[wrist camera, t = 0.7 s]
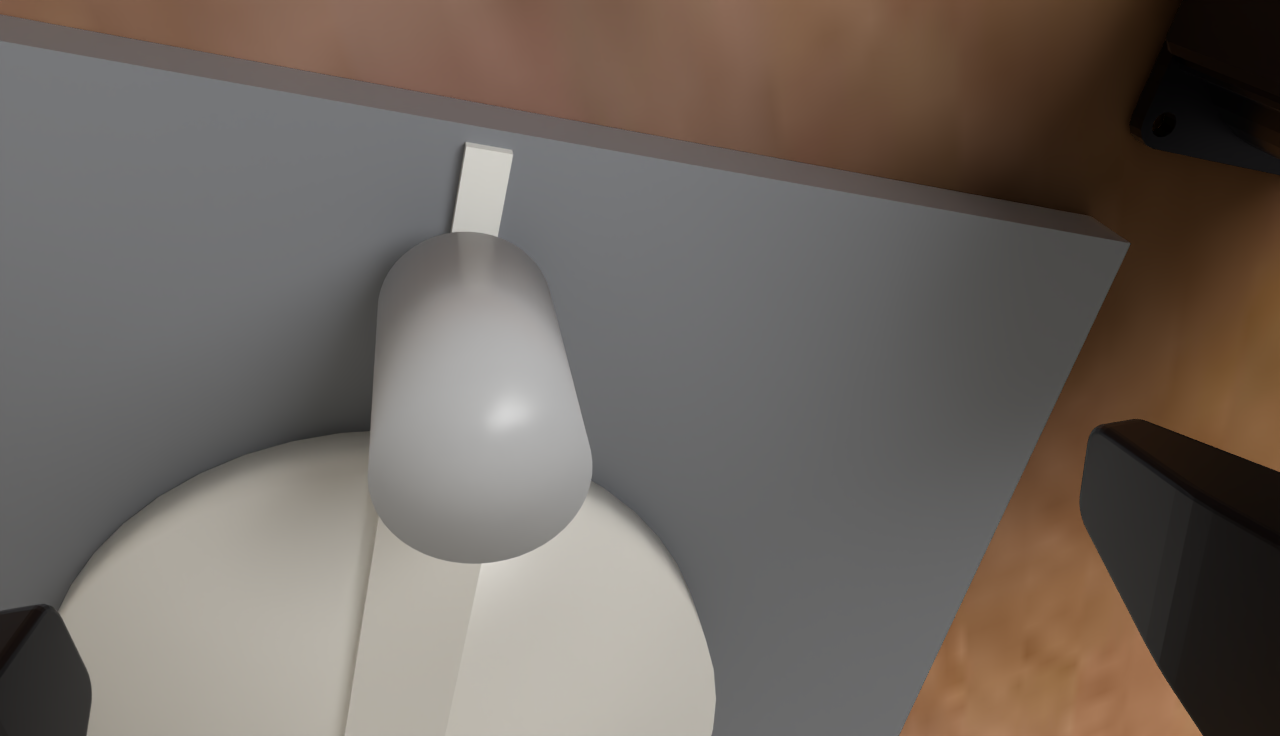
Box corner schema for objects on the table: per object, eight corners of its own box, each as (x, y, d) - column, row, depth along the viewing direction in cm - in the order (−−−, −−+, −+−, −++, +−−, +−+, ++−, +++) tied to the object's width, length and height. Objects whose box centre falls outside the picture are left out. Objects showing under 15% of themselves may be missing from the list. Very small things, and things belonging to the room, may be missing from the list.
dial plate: (1090, 216, 23) (1137, 248, 22) (752, 970, 35) (768, 1025, 33) (-378, -56, 16) (-459, -36, 15) (-192, 1002, 28) (-226, 1073, 26)
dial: (624, 899, 29) (668, 1136, 24) (45, 907, 25) (-44, 1190, 20) (841, 272, 21) (977, 435, 16) (34, 145, 17) (-123, 307, 12)
